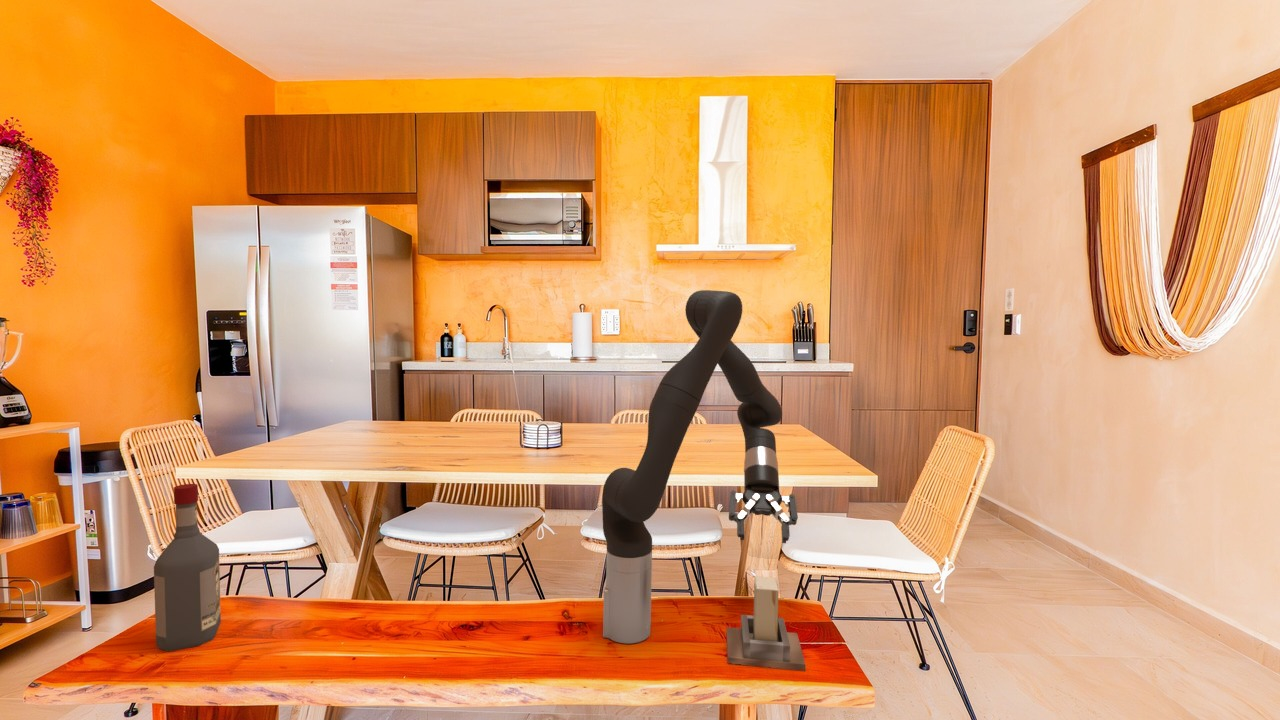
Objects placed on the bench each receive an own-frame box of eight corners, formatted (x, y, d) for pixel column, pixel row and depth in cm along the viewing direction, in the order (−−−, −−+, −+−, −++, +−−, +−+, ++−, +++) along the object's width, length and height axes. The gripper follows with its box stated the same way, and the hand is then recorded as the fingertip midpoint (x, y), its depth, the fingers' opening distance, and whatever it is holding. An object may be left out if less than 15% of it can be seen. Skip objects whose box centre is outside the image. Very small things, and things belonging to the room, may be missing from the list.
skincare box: (777, 654, 109) (779, 591, 108) (753, 652, 109) (755, 589, 109) (774, 636, 115) (776, 576, 114) (752, 634, 116) (754, 574, 115)
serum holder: (727, 663, 108) (728, 641, 107) (726, 632, 118) (727, 612, 118) (805, 670, 106) (806, 648, 106) (796, 638, 117) (797, 618, 116)
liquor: (153, 655, 107) (148, 495, 105) (166, 632, 115) (162, 482, 113) (214, 643, 111) (210, 489, 109) (222, 621, 119) (219, 478, 117)
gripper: (729, 461, 129) (729, 529, 118) (795, 464, 127) (801, 534, 116) (728, 478, 134) (728, 545, 123) (791, 482, 132) (796, 550, 121)
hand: (763, 540), depth 120 cm, fingers open, 8 cm apart
